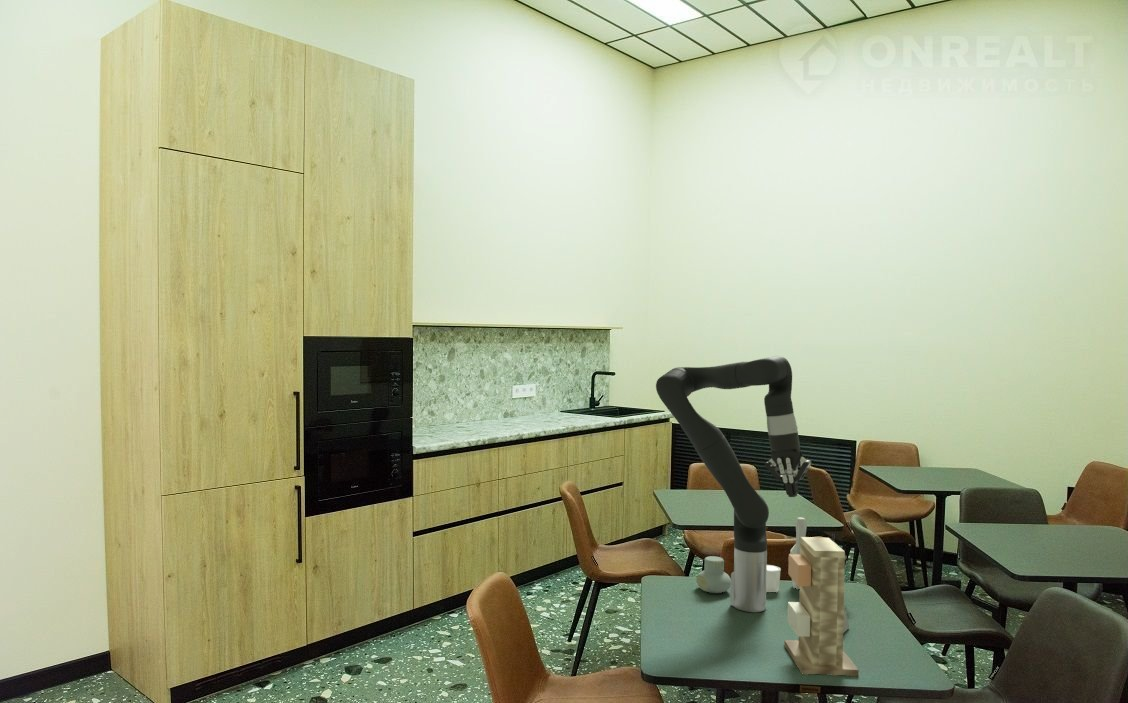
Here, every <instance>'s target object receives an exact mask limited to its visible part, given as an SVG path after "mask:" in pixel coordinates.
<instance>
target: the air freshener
mask: <svg viewBox="0 0 1128 703" xmlns="http://www.w3.org/2000/svg"><path fill="white" fill-rule="evenodd" d="M724 563H725V560H724V558H723V557H720V556H714V555H713V556H712V555H710V556H706V557H705V558H704V565H703V566H704V568H703V569H704V570H702V571H700V572H699V573H698V574H697V575H696V583H697V586H698V587H699V589H701V590H702V591H704V592H705V591H706V592H705V593H707V592H709V593H708V594H722V592H723V593H725V592H727V591H728V590H730V589H731V576H730V575H729V574H728V573H726V572H725V571H724V569H725V568H724V567H725V564H724Z"/></svg>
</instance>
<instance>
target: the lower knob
mask: <svg viewBox="0 0 1128 703" xmlns="http://www.w3.org/2000/svg"><path fill="white" fill-rule="evenodd" d="M787 624H789V626H790V628H791V629H792V631H793V632H794V634H795V636H796V637H799V636H804V637H810V615H809V613H808V612H807V611H806V609H805V608H804V607H803V606H802V604H801V603H800V602H799V601H788V602H787Z"/></svg>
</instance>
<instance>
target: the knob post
mask: <svg viewBox="0 0 1128 703" xmlns="http://www.w3.org/2000/svg"><path fill="white" fill-rule="evenodd" d="M800 554H801V555H802V556H803V557H804V558H805V559H806V560H807V561H808V563H809V564H810V565H811V586H800V590H799V593H798V594H799V601H798V602H800V603H801V604H802V606H803V607H804V608H805V609H806V611H807V612H808V613H809V615H810V637H804V636H798V639H784V640H783V642H784V645H783V646H784V647H785V649H786V651H787V652H788V655H789V656H790V657H791V659H792V660H793V663H794V664H795V665H797V666H796V667H797V669H798V668H799V669H798V671H799V670H800V671H801V672H800V671H799V672H800V674H801V673H803V674H802V675H808V674H832V675H831V676H837V675H847V676H846V677H859V672H860V671H859V669H858V667H857V665H855V664H854V662H853V661H852V660H851V658H850V657H849V656H848V654H846V652H845V651H844V633H843V619H844V607H845V604H844V603H845V568H846V567H845V565H846V559H845V555H846V552H845V550H844V549H843V548H842V547H840V546H839V545H838V544H837V543H836V542H835V541H834V542H833V541H832V538H830V537H816V536H815V537H813V536H812V537H811V536H810V537H809V536H806V537H801V538H800ZM849 675H850V676H849Z"/></svg>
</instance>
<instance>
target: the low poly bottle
mask: <svg viewBox="0 0 1128 703" xmlns="http://www.w3.org/2000/svg"><path fill="white" fill-rule="evenodd" d="M806 521H807V520H806V518H805V517H800V516H799V517H797V518H796V521H795V532H796V534H795V535H796V536H795V542H796V543H795V544H794V545H793V547H791V549H790V553H789V554H800V538H801V537H807V536H806V534H807V526H808V525H807V522H806ZM791 583H792V588H793V589H795V588H796V590H798V589H800V586H798V585H797V584H796V583H795V582H794V580H793V579H792V578H791Z"/></svg>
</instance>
